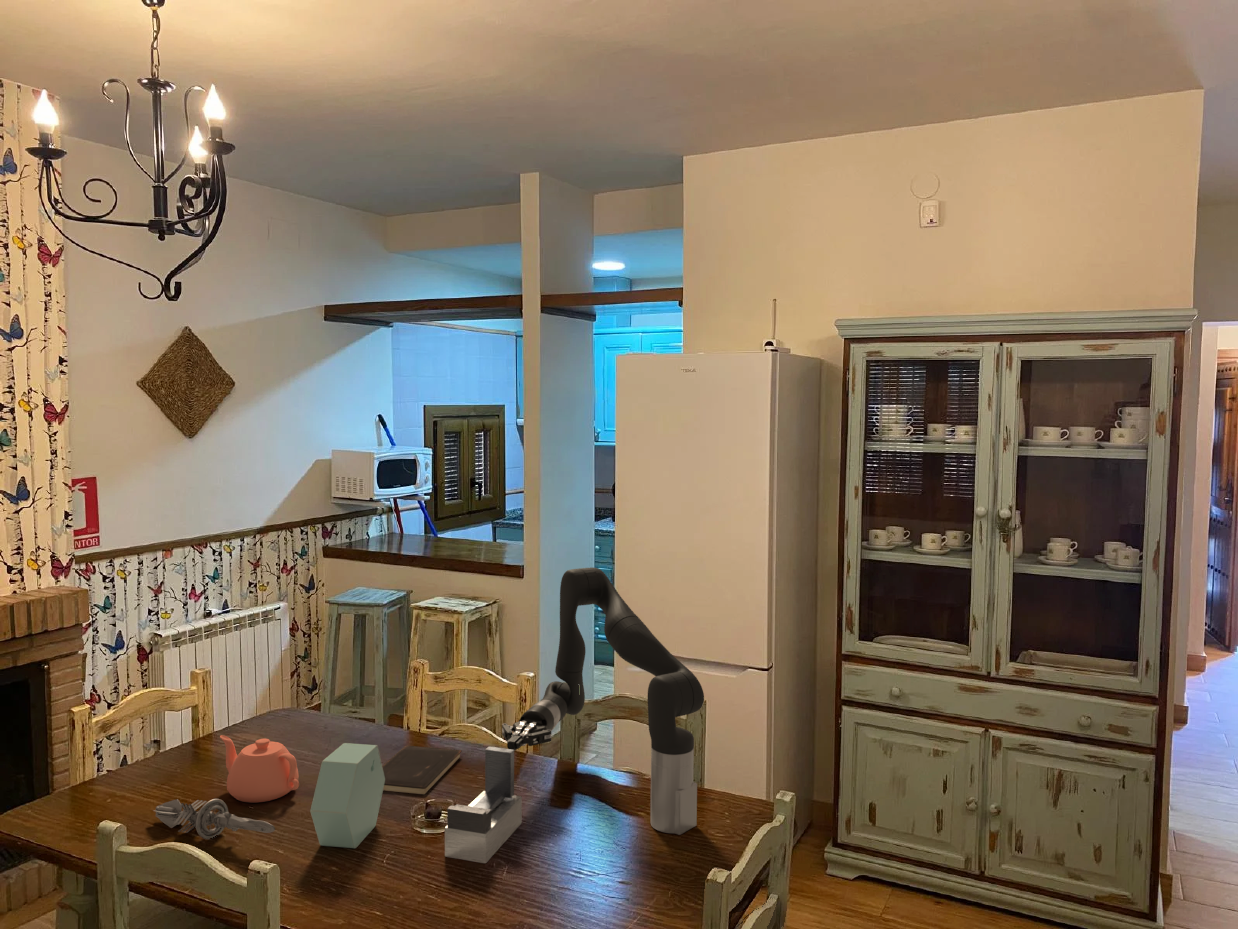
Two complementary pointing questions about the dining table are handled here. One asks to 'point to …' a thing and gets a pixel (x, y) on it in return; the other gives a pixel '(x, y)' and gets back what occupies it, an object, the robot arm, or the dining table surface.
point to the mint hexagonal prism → (348, 795)
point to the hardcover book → (417, 768)
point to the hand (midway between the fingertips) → (511, 746)
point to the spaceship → (207, 818)
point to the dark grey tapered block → (497, 777)
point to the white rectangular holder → (480, 828)
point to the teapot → (260, 771)
